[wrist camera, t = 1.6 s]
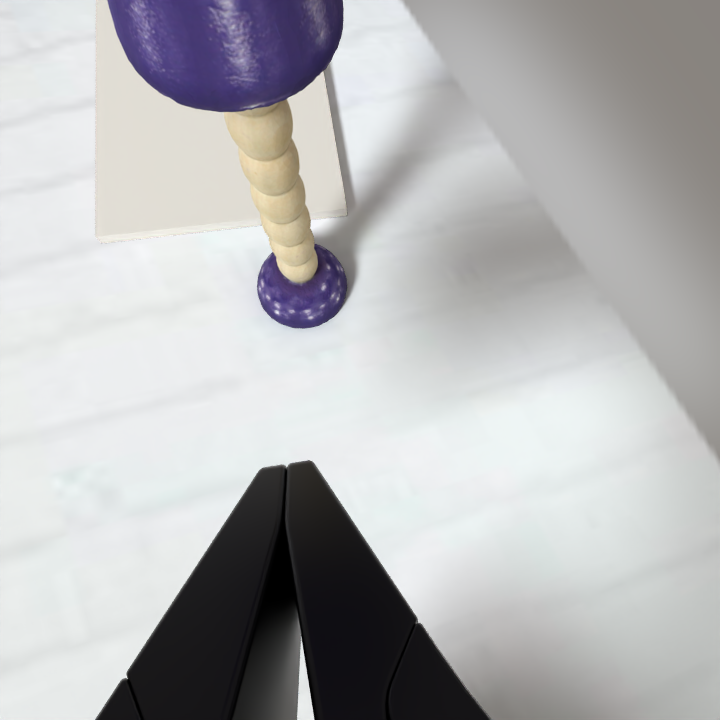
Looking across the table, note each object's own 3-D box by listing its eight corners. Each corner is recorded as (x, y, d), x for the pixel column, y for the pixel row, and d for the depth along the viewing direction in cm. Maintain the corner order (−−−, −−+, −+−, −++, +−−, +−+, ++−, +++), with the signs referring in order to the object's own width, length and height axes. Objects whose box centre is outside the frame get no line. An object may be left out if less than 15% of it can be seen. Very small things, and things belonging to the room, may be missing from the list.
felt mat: (346, 215, 23) (347, 208, 23) (101, 243, 22) (95, 237, 22) (307, -15, 27) (306, -26, 27) (101, 0, 26) (95, -11, 26)
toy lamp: (265, 347, 21) (25, -121, 5) (231, 263, 22) (-54, -338, 6) (361, 309, 22) (416, -206, 6) (323, 229, 23) (281, -387, 7)
